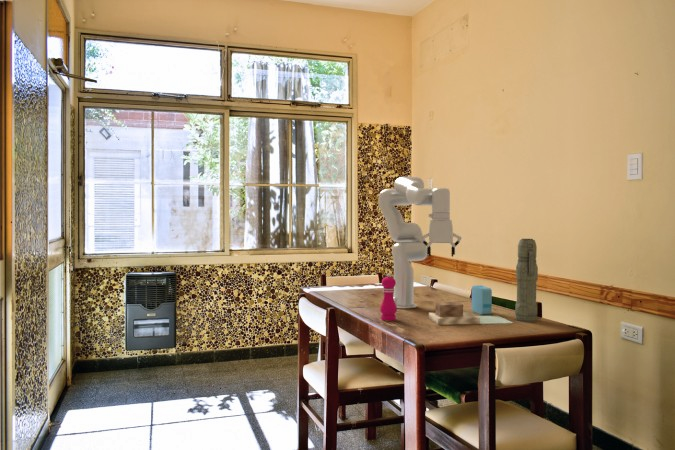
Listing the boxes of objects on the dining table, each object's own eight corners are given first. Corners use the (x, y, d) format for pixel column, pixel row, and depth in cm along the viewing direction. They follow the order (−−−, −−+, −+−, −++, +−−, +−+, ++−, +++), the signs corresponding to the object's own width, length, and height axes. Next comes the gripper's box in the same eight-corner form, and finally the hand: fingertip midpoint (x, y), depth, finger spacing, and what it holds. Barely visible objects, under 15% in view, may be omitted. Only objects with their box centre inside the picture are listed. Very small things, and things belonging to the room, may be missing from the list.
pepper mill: (398, 318, 237) (398, 272, 237) (394, 321, 230) (395, 274, 230) (382, 317, 240) (382, 271, 239) (378, 320, 233) (378, 273, 232)
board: (437, 324, 225) (437, 318, 225) (428, 318, 238) (428, 312, 238) (479, 323, 227) (479, 317, 227) (468, 317, 240) (468, 311, 240)
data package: (491, 315, 246) (492, 288, 246) (482, 315, 245) (482, 288, 245) (480, 310, 258) (480, 285, 257) (471, 310, 257) (471, 285, 257)
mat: (480, 324, 226) (480, 323, 226) (467, 317, 241) (467, 316, 241) (512, 323, 228) (512, 322, 228) (498, 316, 242) (498, 315, 242)
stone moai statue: (523, 323, 229) (524, 239, 228) (510, 317, 240) (511, 238, 239) (542, 322, 230) (544, 239, 229) (529, 317, 242) (530, 238, 241)
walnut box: (439, 316, 228) (439, 305, 228) (435, 314, 234) (435, 302, 234) (463, 316, 229) (463, 304, 229) (458, 313, 236) (458, 302, 235)
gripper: (420, 216, 234) (420, 256, 234) (461, 216, 230) (461, 257, 230) (421, 216, 241) (421, 255, 241) (461, 216, 238) (461, 256, 238)
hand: (441, 256), depth 236 cm, fingers open, 9 cm apart
